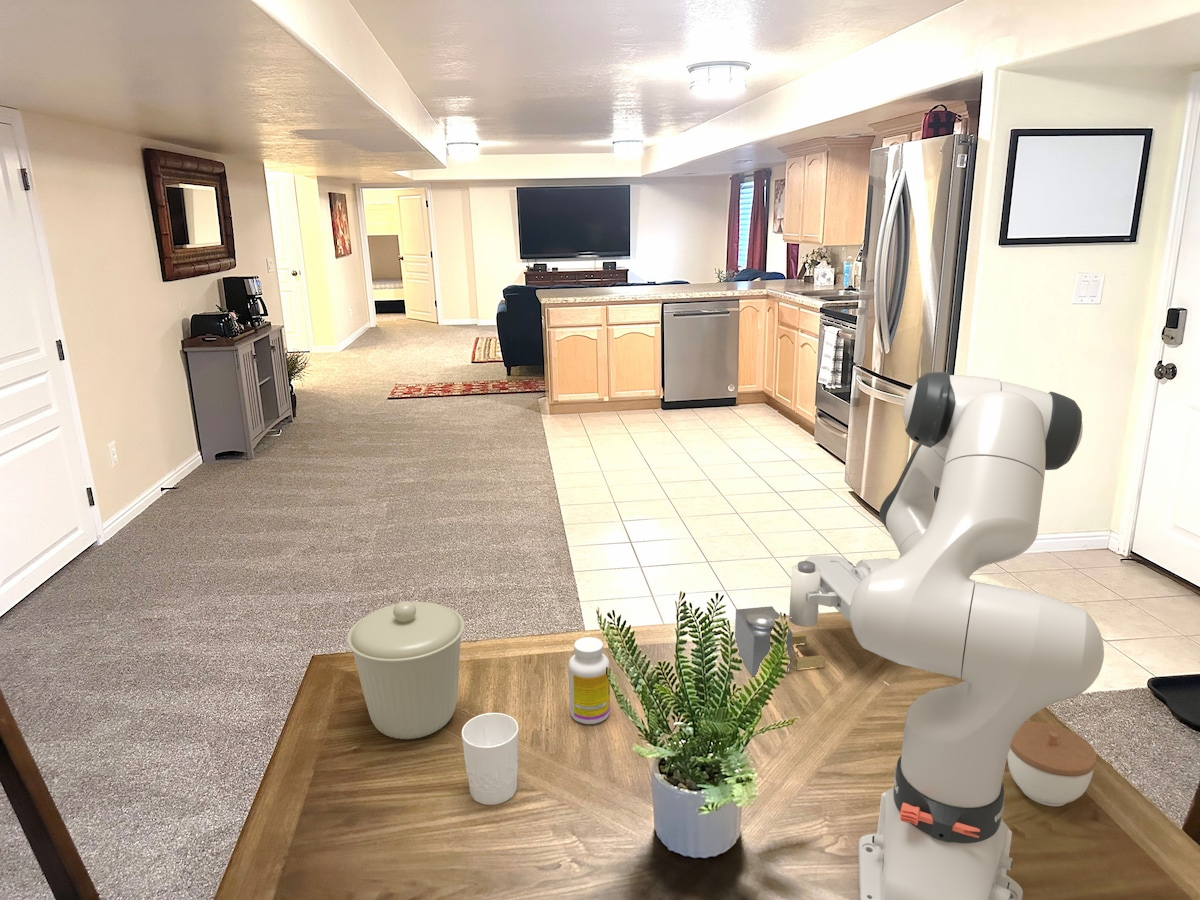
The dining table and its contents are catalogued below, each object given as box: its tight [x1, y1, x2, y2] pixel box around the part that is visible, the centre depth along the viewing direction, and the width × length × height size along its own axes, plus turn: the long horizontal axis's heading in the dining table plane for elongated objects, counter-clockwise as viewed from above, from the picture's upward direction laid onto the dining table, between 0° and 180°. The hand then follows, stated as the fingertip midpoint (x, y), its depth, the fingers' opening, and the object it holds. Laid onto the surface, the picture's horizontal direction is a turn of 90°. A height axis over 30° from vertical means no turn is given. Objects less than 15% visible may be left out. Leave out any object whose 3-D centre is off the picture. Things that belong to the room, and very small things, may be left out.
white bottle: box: [788, 560, 821, 628], centre depth 144 cm, size 5×5×11 cm
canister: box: [346, 600, 466, 740], centre depth 128 cm, size 18×18×21 cm
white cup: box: [461, 712, 519, 806], centre depth 114 cm, size 8×8×10 cm
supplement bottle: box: [568, 636, 611, 725], centre depth 130 cm, size 7×7×13 cm
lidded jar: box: [1007, 721, 1098, 807], centre depth 112 cm, size 11×11×9 cm
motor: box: [734, 605, 825, 678], centre depth 147 cm, size 13×14×9 cm
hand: (800, 590), depth 144 cm, fingers closed on white bottle, 5 cm apart
